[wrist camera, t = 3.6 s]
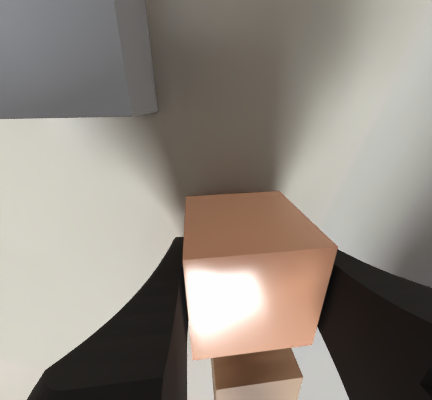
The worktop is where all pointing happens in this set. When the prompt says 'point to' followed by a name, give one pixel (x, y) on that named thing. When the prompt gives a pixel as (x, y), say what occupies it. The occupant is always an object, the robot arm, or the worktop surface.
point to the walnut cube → (257, 376)
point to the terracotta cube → (252, 273)
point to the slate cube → (75, 59)
